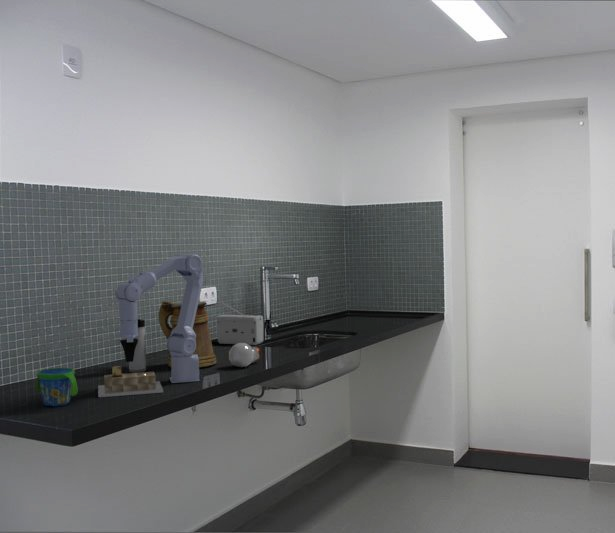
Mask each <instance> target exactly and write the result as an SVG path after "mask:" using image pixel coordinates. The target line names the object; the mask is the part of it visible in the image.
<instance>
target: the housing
mask: <svg viewBox="0 0 615 533" xmlns="http://www.w3.org/2000/svg"><path fill="white" fill-rule="evenodd" d="M141 373H146V374H147V375H141V376H138V374H141ZM121 375H122V377H113V374H104V376H103V378H104V379H103V380H104V383H103V385H105V392H106V391H119V390H132V389H145V388H156V377H157V376H156V374H155V371H147V372H146V371H144V372H139V373H132V372H129V373H121Z"/></svg>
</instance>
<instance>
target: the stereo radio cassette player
mask: <svg viewBox="0 0 615 533" xmlns="http://www.w3.org/2000/svg"><path fill="white" fill-rule="evenodd" d="M219 303H221V304H223V305H224V306H226V307H227V308H230V309H231V310H232V311H234V312H236V313H238V314H221V315H216V320H217V321H216V322H217V342H218V343H219V344H220V345H222V344H223V345H235V344H237V343H246V344H248V345H250V346H253V347H256V346H257V345H260V344H263V342H264V317H263V315H259V314H258V315H257V314H255V315H253V314H251V315H250V314H248V315H247V314H243V313H242V312H239V311H238V310H236V309H234V308H232V307H231V306H229V305H227V304H225V303H223V302H222V301H220V300H219Z"/></svg>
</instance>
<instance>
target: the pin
mask: <svg viewBox="0 0 615 533" xmlns="http://www.w3.org/2000/svg"><path fill="white" fill-rule="evenodd" d="M111 368H112V371H111V372H112V375H113V377H122V375H121V374H122V366H120V365H118V366H112V367H111Z"/></svg>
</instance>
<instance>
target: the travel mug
mask: <svg viewBox="0 0 615 533" xmlns="http://www.w3.org/2000/svg"><path fill="white" fill-rule="evenodd" d="M137 320H138V334H139V335H138V336H136V337H134V338H133V339H135V338H136V339H138V343H137V345H136V348H135V352H134V359H133V362H128V372H129V373H142V372H146V371H147V354H146V352H147V349H146V321H145V319H138V318H137Z"/></svg>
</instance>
